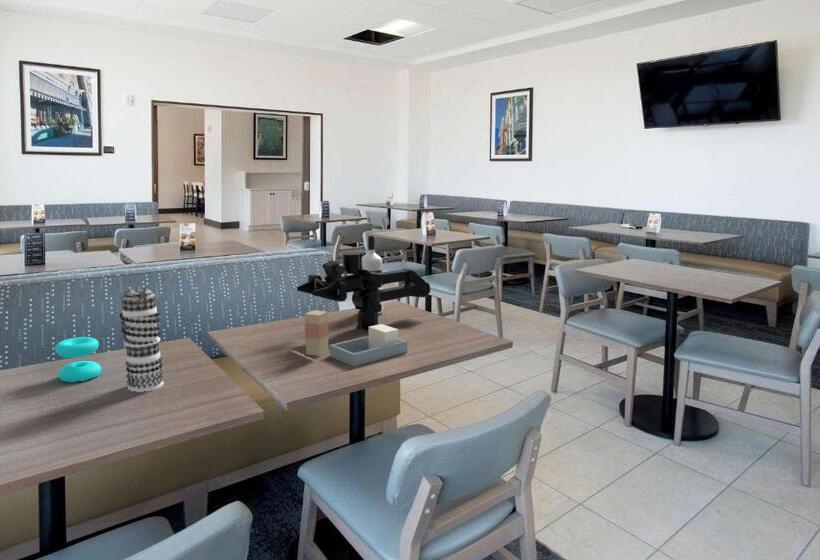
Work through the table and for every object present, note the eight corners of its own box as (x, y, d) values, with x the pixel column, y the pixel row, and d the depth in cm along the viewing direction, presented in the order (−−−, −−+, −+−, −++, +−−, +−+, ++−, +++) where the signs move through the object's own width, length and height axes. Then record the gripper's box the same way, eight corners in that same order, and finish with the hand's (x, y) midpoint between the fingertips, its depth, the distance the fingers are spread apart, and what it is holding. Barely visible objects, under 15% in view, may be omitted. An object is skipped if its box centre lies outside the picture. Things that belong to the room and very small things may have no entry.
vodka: (383, 315, 221) (383, 237, 215) (359, 315, 220) (358, 237, 215) (383, 309, 230) (383, 234, 224) (360, 310, 229) (359, 234, 224)
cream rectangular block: (381, 345, 181) (381, 324, 180) (398, 351, 175) (398, 329, 174) (368, 348, 178) (368, 326, 177) (385, 355, 172) (385, 332, 171)
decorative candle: (151, 393, 143) (143, 295, 139) (118, 391, 145) (108, 293, 140) (172, 380, 152) (165, 287, 148) (140, 378, 154) (132, 286, 149)
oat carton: (314, 351, 177) (313, 310, 175) (328, 353, 175) (327, 311, 173) (305, 356, 173) (304, 313, 170) (320, 358, 171) (319, 315, 169)
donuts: (54, 339, 154) (96, 333, 160) (58, 375, 156) (99, 368, 161) (55, 349, 146) (100, 342, 151) (59, 386, 148) (103, 379, 153)
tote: (382, 344, 184) (382, 332, 183) (407, 353, 175) (407, 341, 175) (329, 358, 171) (329, 345, 170) (353, 368, 162) (353, 354, 162)
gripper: (328, 257, 200) (288, 262, 189) (361, 264, 186) (320, 270, 176) (329, 289, 202) (289, 295, 192) (362, 298, 188) (321, 305, 178)
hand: (304, 291), depth 184 cm, fingers open, 9 cm apart
